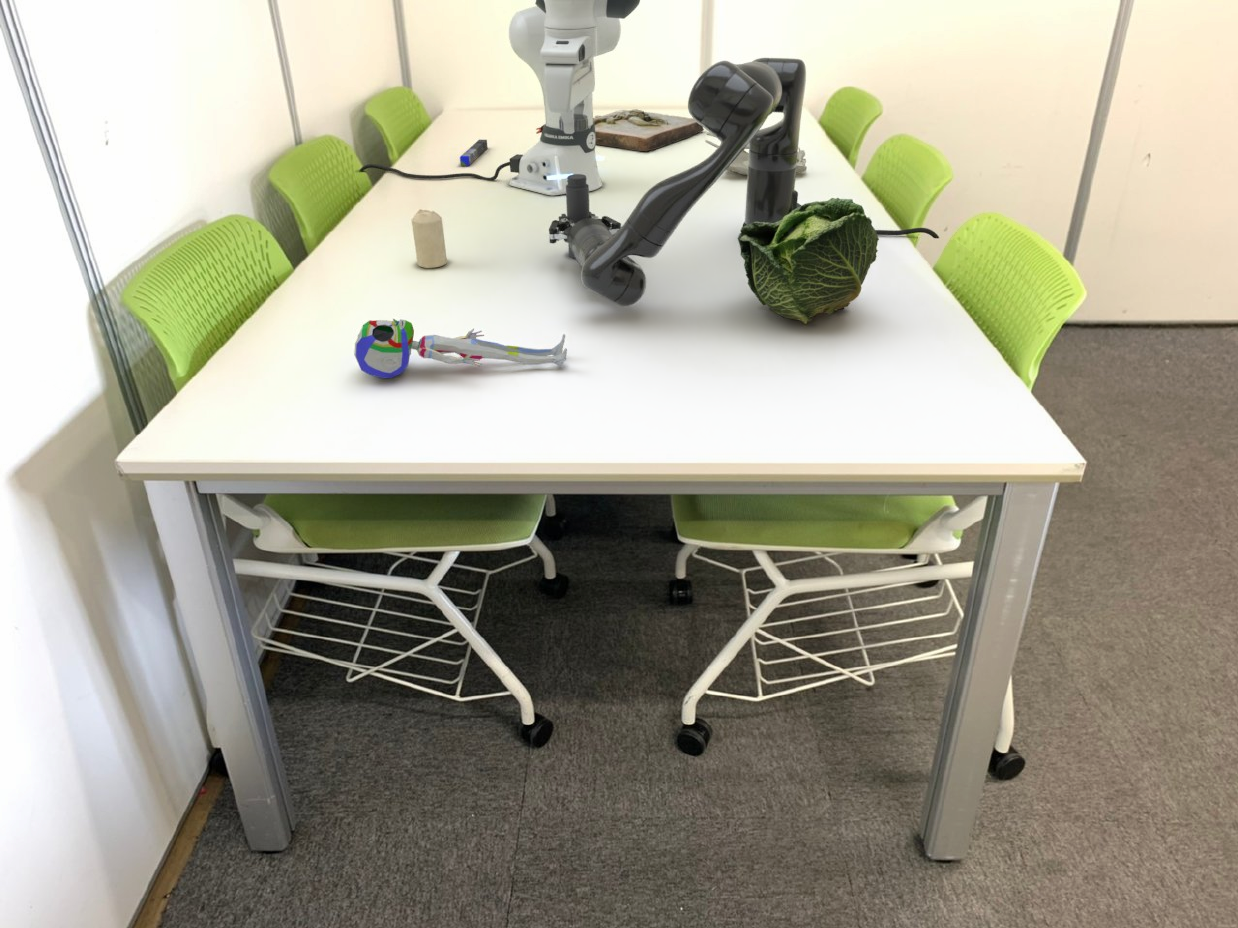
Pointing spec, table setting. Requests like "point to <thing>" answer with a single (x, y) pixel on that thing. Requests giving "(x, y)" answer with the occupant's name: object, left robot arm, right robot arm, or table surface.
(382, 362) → the toy
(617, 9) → the left robot arm
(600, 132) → the plaque
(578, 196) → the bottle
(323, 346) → the table surface
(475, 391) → the table surface
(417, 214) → the candle
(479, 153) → the blue-capped grey bar
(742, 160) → the anatomical model
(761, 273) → the vegetable
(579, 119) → the lid
